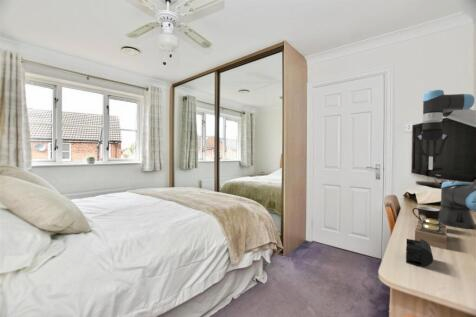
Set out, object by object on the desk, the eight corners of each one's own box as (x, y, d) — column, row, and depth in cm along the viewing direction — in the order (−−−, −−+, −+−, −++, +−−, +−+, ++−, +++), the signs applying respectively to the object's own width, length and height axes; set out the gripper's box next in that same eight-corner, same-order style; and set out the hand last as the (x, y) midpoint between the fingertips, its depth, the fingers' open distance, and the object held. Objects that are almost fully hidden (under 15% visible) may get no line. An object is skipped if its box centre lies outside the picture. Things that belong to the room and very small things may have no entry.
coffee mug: (443, 231, 110) (444, 211, 110) (423, 230, 112) (424, 210, 112) (428, 223, 122) (428, 205, 121) (410, 222, 123) (410, 204, 123)
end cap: (432, 270, 74) (433, 250, 73) (406, 263, 78) (406, 244, 78) (430, 259, 81) (431, 240, 81) (406, 253, 86) (406, 236, 86)
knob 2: (423, 228, 100) (423, 222, 100) (438, 230, 96) (438, 225, 96) (422, 230, 96) (423, 225, 96) (438, 233, 93) (438, 228, 93)
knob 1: (424, 222, 108) (424, 217, 108) (438, 224, 104) (438, 219, 104) (424, 224, 104) (424, 219, 104) (438, 227, 101) (438, 222, 101)
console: (418, 230, 111) (418, 218, 111) (445, 235, 104) (446, 222, 104) (414, 242, 96) (415, 228, 96) (446, 249, 90) (446, 234, 89)
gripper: (415, 122, 113) (413, 169, 114) (450, 120, 104) (448, 170, 105) (416, 124, 118) (414, 168, 119) (450, 122, 110) (448, 169, 110)
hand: (430, 169), depth 112 cm, fingers closed
